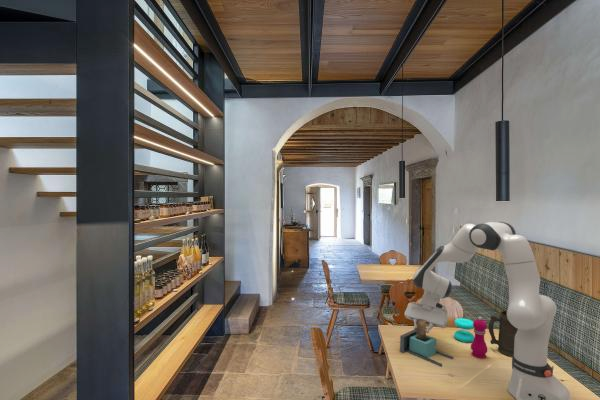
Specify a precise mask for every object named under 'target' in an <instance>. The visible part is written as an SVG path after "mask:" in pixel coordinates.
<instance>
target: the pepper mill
mask: <svg viewBox="0 0 600 400" xmlns="http://www.w3.org/2000/svg"><path fill="white" fill-rule="evenodd" d="M473 327H474V328H473V332H474V340H473V341H472V342H471V344H470V350H471V355H472V356H473V357H474V358H477V359H486V358H487V353H488V345H487V344H486V341H485V335H486V330H487V329H488V324H487V321H485V320H484V319H483V317H482V316H477V319H474V321H473Z"/></svg>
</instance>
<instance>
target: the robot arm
mask: <svg viewBox="0 0 600 400" xmlns="http://www.w3.org/2000/svg"><path fill="white" fill-rule="evenodd" d="M478 249H483V250H487V251H488V250H489V251H495V250H497V251H498V252H499V253H500V254H501V256H502V261H503V265H504V269H505V273H506V278H507V284H508V307H507V310H506V311H507V318H508V320H509V322H510V323H511V324H512V325H513V326H514V327H516V328H518V330H517V333H516V335H515V339H514V355H513V357H511V368H512V370H511V377H510V381H509V383H508V387H507V390H508V392H509V394H510V395H511V396H512V397H514V398H515V400H572V398H571V394H570V390H569V388H568V387H567V386H566V385H564V384H563V383H562V382H561V381H560V380H559V379H558V378H557V377H556V376H555V375H554V369H555V368H554V365H552V366H551V365H550V364H549V362H548V350H549V341H550V337H551V333H552V329H553V326H554V325H553V324H554V318H555V316H556V315H557V305H556V303H555V301H554V300H553V299H552V298H550V297H549V296H546V295H544V294H540V285H541V277H540V273H539V269H538V266H537V262H536V258H535V254H534V252H533V250H532V247H531V245H530V243H529V241H528V239H527V238H526V236H523V235H520V234H517V233H516V230H515V228H514V227H513V226H512V224H510V223H508V222H504V221H495V222H494V221H488V222H484V223H477V224H474V223H465V224H464V225H462V226H461V227H460V229H459V230H458V231H457V232H456V234H455V235H454V236H453V239H452V240H451V241H450V242H449V243H447V244H445V245H440V246H439V247H437V248H436V249H435V251H433V253H432V254H431V255H430V256H429V257H428V258H427V259H426V261H425V262H424V263H423V264H422V265H421V266H420V267H419V268H418V269H416V271H415V272H414V274H413V276H412V282H413V284H414V286H415V287H416V288H419V289H421V290H423V295H422V296H421V299H420V302H415V301H411V302H408V304H407V306H406V309H405V311H404V318H406V319H408V320H411V321H413V324H414V326H413V330H414V329H416V330H417V320H418V319H423V320H426V325H428V327H426V328H425V332H426V334H429V333H430V330H432V329H434V327H437V328H440V329H445V328H447V324H448V316H447V315H448V309H447V308H446V306H445V305H444V304H442V303H440V302H441V300H442V299H446V298H448V297H450V295H451V291H452V290H453V289H452V288H453V285H452V282H451V281H450V279H448V278H446V277H444V276H441V275H439V274H437V273H435V272H432V270H433V269H434V268H435V266H436V265H438V263H442V262H443V263H445V262H448V263H455V264H462V263H463V264H464V263H466V262H469V261H470V260H472V258H473V256H474V255H475V254H476V252H477V251H478Z"/></svg>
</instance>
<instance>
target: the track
mask: <svg viewBox="0 0 600 400" xmlns="http://www.w3.org/2000/svg"><path fill="white" fill-rule="evenodd" d="M416 334H417V330H416V329H414V328H413V329H412V330H410V331H408V332H405V333H403V334H401V335H400V337H399V338H400V339H399V341H400V342H399V343H400V344H399V352H400V353H402V354H405V353H408V354H410V355H413V356H414V357H417V358H419V359H422V360H424V361H426V362H429V363H432V364H434V365H436V366H439V367H443V363H441V362H438V361H436V360H434V359H431V358H430V357H428V358H427V357H424V356H422V355H420V354H417V353H415V352H412V351H410V350H409V345H410V337H412V336H414V335H416ZM435 354H438V355H441V356H443V357H445V358H448V359H451V360H454V356H453V355H450V354H447V353H444V352H442V351H440V350H437V349H436V353H435Z"/></svg>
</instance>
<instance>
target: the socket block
mask: <svg viewBox="0 0 600 400" xmlns="http://www.w3.org/2000/svg"><path fill="white" fill-rule="evenodd" d="M409 350H410V351H412V352H415V353H417V354H420V355H422V356H424V357H427V358H430V357H431V356H433V355H436V354H437V353H436V350H437V338H435V337H431V336H429V335H427V334H426V342H424V341H421V340H419V339H417V334H416V335H414V336H412V337H410V345H409Z"/></svg>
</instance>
